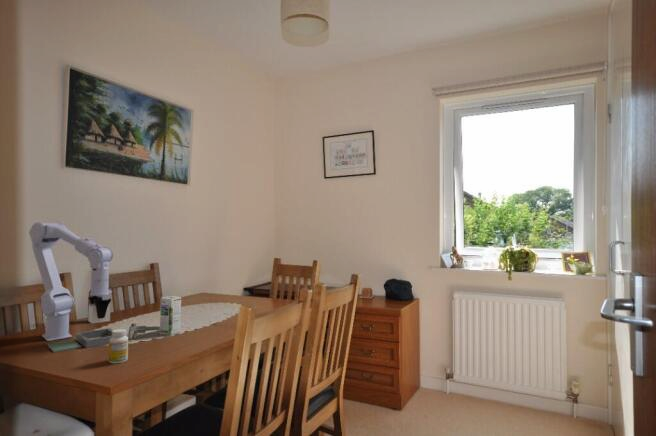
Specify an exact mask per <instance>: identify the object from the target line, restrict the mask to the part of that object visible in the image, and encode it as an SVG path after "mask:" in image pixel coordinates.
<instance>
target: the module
mask: <svg viewBox="0 0 656 436" xmlns="http://www.w3.org/2000/svg"><path fill="white" fill-rule="evenodd" d="M87 321H88V322H89V323H91V324H98V323H105V322H106V323H107V322H110V321H111V304H110V303H109V305H108V307H107V311H106V315H105V318H99V319H98V317H97V310H96V306H95V303H93V305H89V316H88V315H87Z"/></svg>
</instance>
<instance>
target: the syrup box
mask: <svg viewBox="0 0 656 436" xmlns="http://www.w3.org/2000/svg"><path fill="white" fill-rule="evenodd" d="M181 315H182V297H181V296H174V295H173V296H172V295H165V296H162V297H160V315H159V318H160V319H159V326H160V330H159V334H160V335H165V336H173V335H176V334H178V333H180V332H181Z"/></svg>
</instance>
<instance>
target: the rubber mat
mask: <svg viewBox="0 0 656 436" xmlns="http://www.w3.org/2000/svg"><path fill="white" fill-rule="evenodd" d="M47 347H48V348H49V350H51V351H52V352H53V353H58V352H63V351H70V350H76V349H81V348H82V345H80V344H79V342H78V341H77V342H76V341H75V340H74V339H70V340H65V341H59V342H54V343H47Z"/></svg>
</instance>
